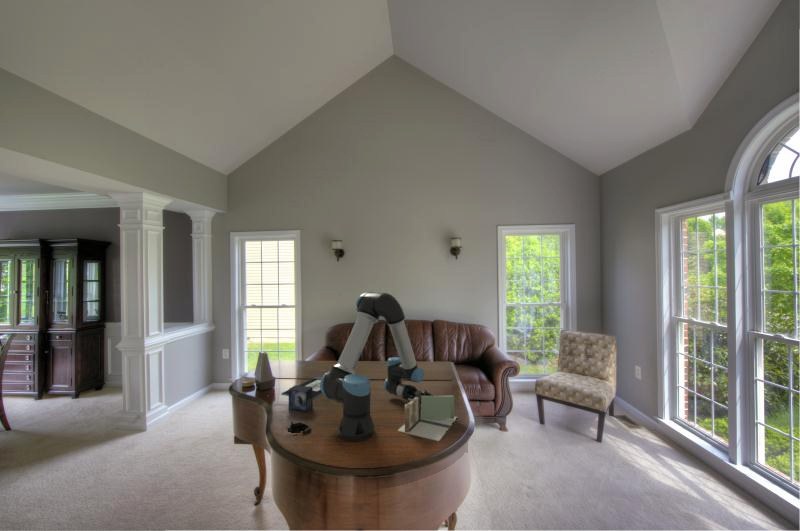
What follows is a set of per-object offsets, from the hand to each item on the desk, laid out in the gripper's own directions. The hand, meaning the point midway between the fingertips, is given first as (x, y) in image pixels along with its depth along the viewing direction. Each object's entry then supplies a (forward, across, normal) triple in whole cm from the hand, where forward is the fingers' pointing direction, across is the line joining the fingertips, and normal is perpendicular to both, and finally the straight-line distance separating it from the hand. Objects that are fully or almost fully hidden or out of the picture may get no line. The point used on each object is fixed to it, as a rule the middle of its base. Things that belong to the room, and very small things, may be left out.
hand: (442, 405), depth 152 cm
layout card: (-1, +8, -6) cm, 11 cm away
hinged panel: (-1, +3, -5) cm, 6 cm away
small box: (-57, +42, -7) cm, 72 cm away
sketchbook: (-79, +23, -7) cm, 83 cm away
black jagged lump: (-37, +55, -7) cm, 66 cm away
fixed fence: (-5, +15, -6) cm, 17 cm away
